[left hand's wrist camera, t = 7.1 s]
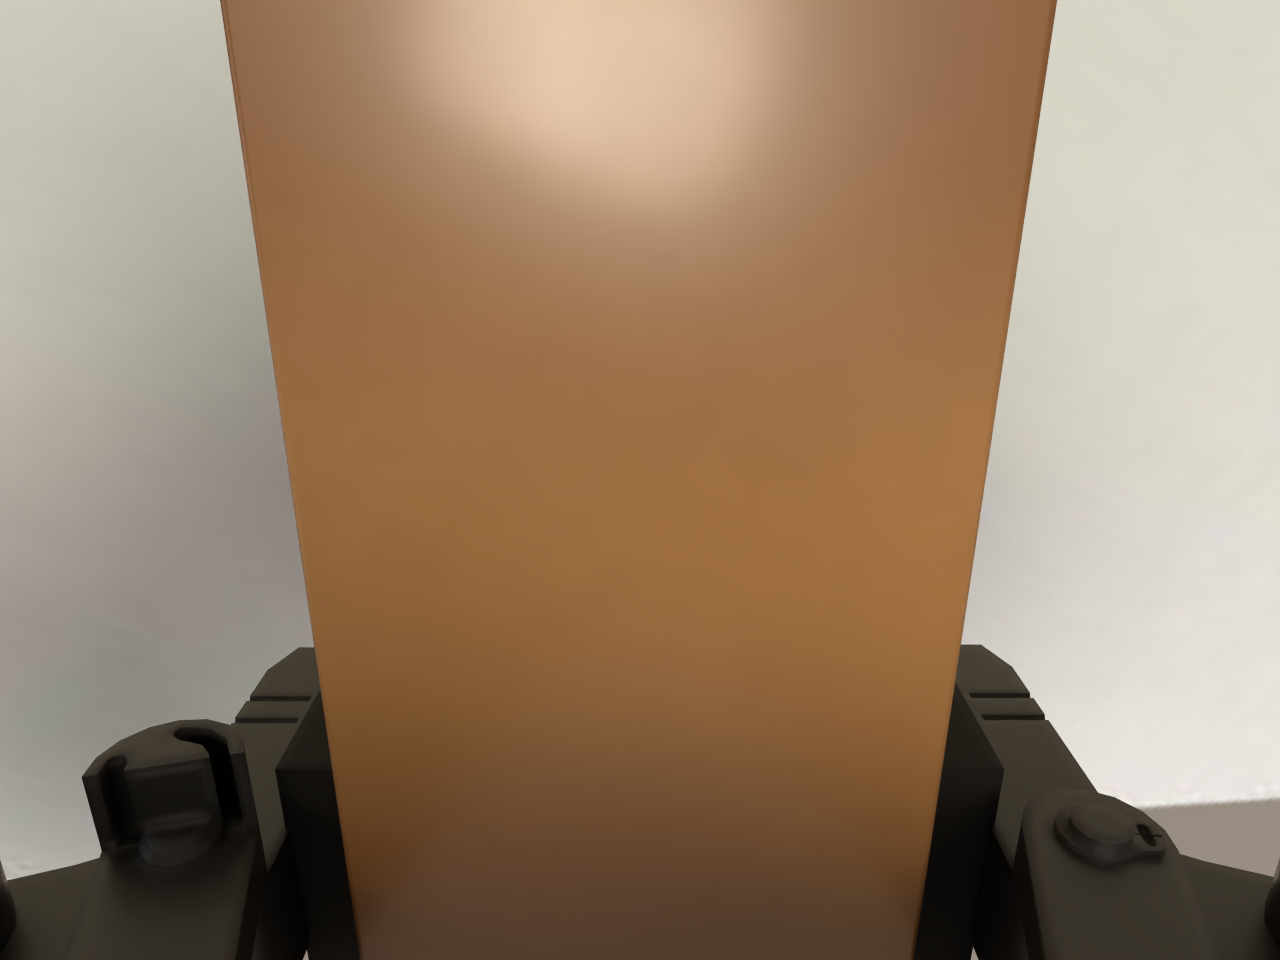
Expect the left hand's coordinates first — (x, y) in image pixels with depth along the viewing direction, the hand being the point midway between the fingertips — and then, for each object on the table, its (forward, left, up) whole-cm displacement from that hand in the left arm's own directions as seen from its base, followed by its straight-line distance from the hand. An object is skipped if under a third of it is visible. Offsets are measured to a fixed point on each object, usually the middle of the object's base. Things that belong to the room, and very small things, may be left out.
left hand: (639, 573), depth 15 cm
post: (+4, +36, -1) cm, 37 cm away
